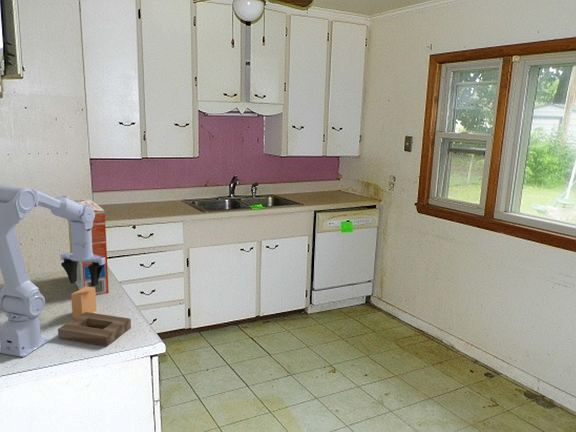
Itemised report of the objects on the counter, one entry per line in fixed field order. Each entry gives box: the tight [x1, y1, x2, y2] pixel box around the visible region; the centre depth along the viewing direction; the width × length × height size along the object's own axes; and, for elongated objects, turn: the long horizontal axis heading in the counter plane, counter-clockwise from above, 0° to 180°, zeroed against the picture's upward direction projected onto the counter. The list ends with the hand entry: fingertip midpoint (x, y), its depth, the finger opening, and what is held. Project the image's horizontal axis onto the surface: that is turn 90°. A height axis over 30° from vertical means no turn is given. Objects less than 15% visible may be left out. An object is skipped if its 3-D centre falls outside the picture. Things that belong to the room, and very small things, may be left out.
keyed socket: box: [57, 312, 132, 348], centre depth 135 cm, size 12×16×3 cm
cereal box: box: [67, 198, 109, 296], centre depth 168 cm, size 23×8×30 cm, turn 35°
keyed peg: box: [70, 286, 97, 319], centre depth 146 cm, size 4×7×8 cm, turn 167°
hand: (84, 283), depth 146 cm, fingers open, 7 cm apart
